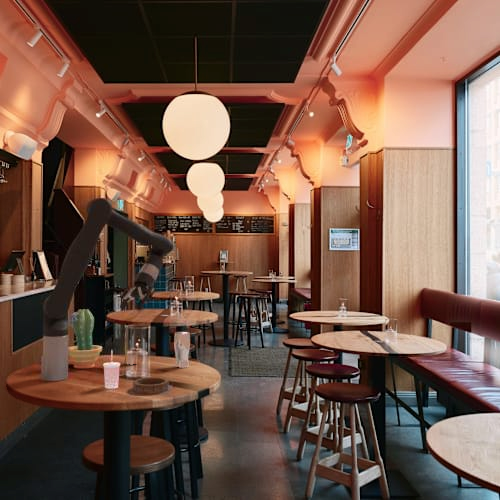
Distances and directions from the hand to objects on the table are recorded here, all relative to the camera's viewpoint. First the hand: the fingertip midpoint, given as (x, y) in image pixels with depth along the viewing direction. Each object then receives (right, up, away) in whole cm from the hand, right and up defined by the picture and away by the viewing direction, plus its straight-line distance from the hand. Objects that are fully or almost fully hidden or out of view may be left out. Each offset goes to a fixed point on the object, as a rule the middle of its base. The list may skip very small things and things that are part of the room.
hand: (129, 308), depth 209 cm
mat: (+12, -28, -19) cm, 35 cm away
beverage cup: (-3, -28, -15) cm, 32 cm away
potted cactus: (-25, -28, +23) cm, 44 cm away
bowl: (+12, -27, -19) cm, 35 cm away
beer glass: (+18, -28, +23) cm, 40 cm away
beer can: (-5, -28, +28) cm, 40 cm away
